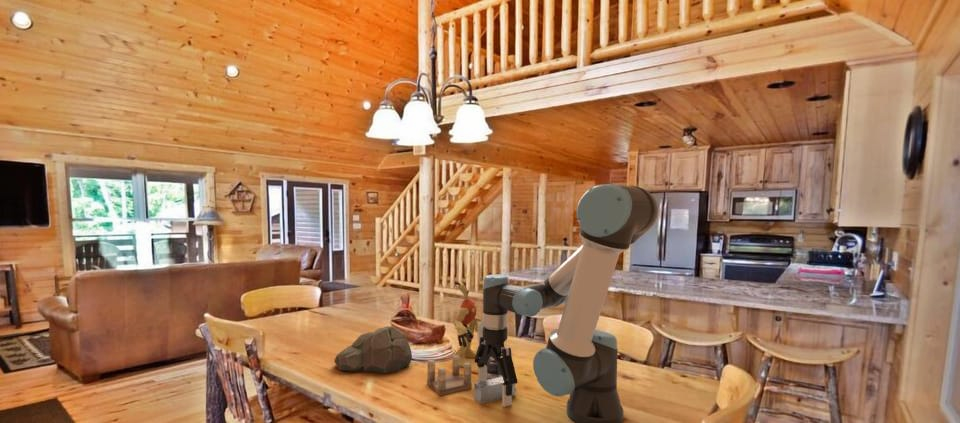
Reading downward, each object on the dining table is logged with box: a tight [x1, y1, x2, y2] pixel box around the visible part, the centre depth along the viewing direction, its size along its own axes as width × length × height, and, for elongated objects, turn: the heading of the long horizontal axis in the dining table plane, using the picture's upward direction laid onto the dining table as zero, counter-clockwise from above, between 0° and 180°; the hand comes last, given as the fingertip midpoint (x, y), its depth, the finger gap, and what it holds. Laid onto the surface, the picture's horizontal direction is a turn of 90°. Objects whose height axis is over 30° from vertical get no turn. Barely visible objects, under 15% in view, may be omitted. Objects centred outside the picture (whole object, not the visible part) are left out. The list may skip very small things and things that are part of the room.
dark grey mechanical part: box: [484, 357, 502, 376], centre depth 139 cm, size 13×6×4 cm, turn 31°
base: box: [487, 372, 502, 380], centre depth 142 cm, size 6×6×2 cm
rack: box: [426, 354, 473, 396], centre depth 134 cm, size 10×11×8 cm
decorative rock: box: [334, 325, 413, 375], centre depth 153 cm, size 27×22×15 cm
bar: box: [473, 377, 516, 405], centre depth 126 cm, size 4×12×5 cm, turn 119°
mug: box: [476, 321, 484, 345], centre depth 173 cm, size 13×9×10 cm
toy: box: [453, 281, 483, 368], centre depth 154 cm, size 23×9×30 cm, turn 168°
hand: (494, 396), depth 127 cm, fingers open, 13 cm apart
